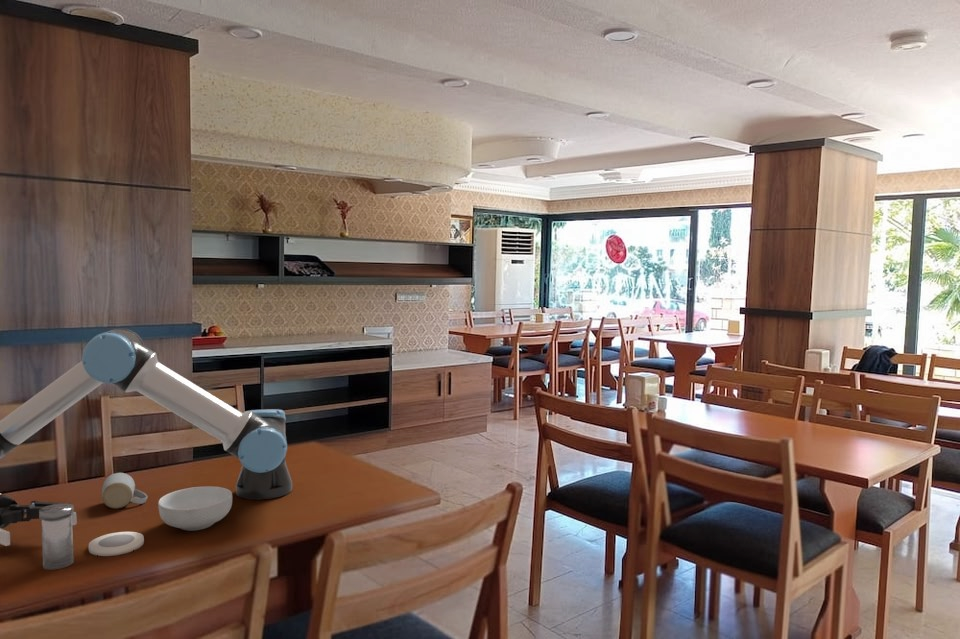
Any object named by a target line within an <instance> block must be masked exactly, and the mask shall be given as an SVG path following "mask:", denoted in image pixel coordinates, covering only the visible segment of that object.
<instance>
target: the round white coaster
mask: <svg viewBox="0 0 960 639" xmlns="http://www.w3.org/2000/svg"><path fill="white" fill-rule="evenodd" d="M144 543H145V538H144V535H143V534H142V533H140V532H137V531H119V532H112V533H106V534H104V535H101V536H99V537H96V538H94V539H92V540H91V541H90V542H89V543H88V552H89V553H90V554H91V555H94V556H97V555H98V556H99V557H112V556H113V557H115V556H120V555H124V554H128V553H130V552H133V550H134V551H136V550H139V549H140V548H141V547H142V546H143V545H144Z"/></svg>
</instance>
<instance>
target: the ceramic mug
mask: <svg viewBox="0 0 960 639" xmlns="http://www.w3.org/2000/svg"><path fill="white" fill-rule="evenodd" d="M101 491H102V492H101V500H102V501H103V503H104V505H105V506H107V507H108V508H111V509H114V510H115V509H121V508H124V507H125V506H127V505H128V504H129V503H133V504H139V505H143V504H145V503H146V502H147V500H148V495H147V493H145V492H144V491H141V490H139V489H136V483H135V480H134V479H133V477H132V476H131V475H129V474H127V473H126V472H125V473H124V472H115V473H112V474H110V475H109V476H107V477H106V478H105V479H104V482H103V484H102V490H101Z"/></svg>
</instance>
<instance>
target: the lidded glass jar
mask: <svg viewBox="0 0 960 639" xmlns="http://www.w3.org/2000/svg"><path fill="white" fill-rule="evenodd" d="M74 507H75V506H74V505H73V504H71V503H70V504H54V505H49V506H46V507H43V508H41V509H40V510H39V518H40V519H39V520H41V545H42V546H41V547H42V549H41V551H42V568H43V569H44V570H48V571H49V570H53V571H55V570H59V569H64V568H67V567H69V566H71V565H72V564H74V540H73V538H74V536H73V525H72V515H73V513H74V512H75V510H74Z"/></svg>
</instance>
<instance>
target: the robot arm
mask: <svg viewBox="0 0 960 639" xmlns="http://www.w3.org/2000/svg"><path fill="white" fill-rule="evenodd" d="M81 356H82V357H81V361H80V362H78V363H77V364H75V365H74V366H73V367H71V368H70V369H68V370H67V371H66V372H65V373H63V374H62V375H61V376H59V377H58V378H56V379H54V381H52V382H51V383H50V384H48V385H47V386H46V387H44V388H43V389H42V390H40V391H39V392H37V393H36V394H35V395H33V396H32V397H31V398H29V399H28V400H27V401H25V402H24V403H22V404H21V405H20V406H19V407H17V408H15V410H12V412H10V413H9V414H7V415H6V416H4V417H3V418H2V419H1V420H0V460H1V459H3V458H4V457H7V455H9V453H10V452H11V451H13V450H14V449H16V448H17V447H19V445H21V444H22V443H23V442H25V441H26V440H27V439H29V438H30V437H31V436H33V435H35V434H36V433H38V431H40V430H41V429H43V427H44V428H45V427H46V425H48V424H49V423H51V422H52V421H54V420H55V419H56V418H57V417H59V416H60V415H61V414H63V413H64V412H65V411H67V410H68V409H70V408H71V407H72V406H73V405H75V404H76V403H78V402H79V401H81V400H82V399H83V398H84V397H86V396H87V395H89V394H90V393H92V392H93V391H94V390H95V389H97V388H98V387H99V386H101V385H102V384H111V385H113V386H114V387H116V388H118V389H120V390H122V391H123V392H125V393H131V392H137V393H139V394H141V395H143V396H145V397H146V398H148V399H150V400H151V401H153V402H155V403H157V404H158V405H159V406H162V407H163V408H165V409H166V410H168V411H170V412H171V413H173V414H175V415H177V416H178V417H180V418H182V419H183V420H185V421H187V422H189V423H191V425H193V426H195V427H197V428H199V429H201V430H202V431H203V432H205V433H207V434H209V435H210V436H212V437H214V438H215V439H217V440H218V441H220V442H222V446H223V450H224V451H225V452H227V453H229V454H231V455H232V456H234V457H235V458H237V459H238V460H239V462H240V463H241V467H240V472H239V475H238V478H237V481H236V483H235V495H236V496H237V497H239V498H240V499H245V500H257V501H258V500H269V499H276V498H280V497H283V496H286V495H288V494H289V493H291V492H292V491H293V481H292V478H291V474H290V470H289V469H288V466H287V463H286V454H287V451H288V441H287V436H286V422H287V417H286V413H285V411H284V410H283V409H279V408H277V409H275V408H274V409H273V408H271V409H269V408H268V409H251V410H246V411H244V412H242V411H240V410H238V409H237V408H235V407H233V406H231V405H230V404H229V403H227V402H225V401H223V400H221V399H220V398H218V397H217V396H215V395H213V394H212V393H210V392H209V391H207V390H205V389H204V388H202V387H201V386H199V385H197V384H196V383H194V382H192V381H191V380H189V379H187V378H186V377H184V376H182V375H181V374H179V373H177V372H176V371H174V370H173V369H171V368H169V367H168V366H166V365H165V364H162V363H161V362H160V361H159V359H158V356H157V352H156V351H154V350H152V349H151V348H149V347H147V346H146V345H145V343H144V341H143V339H142V338H141V336H140V335H139V334H138V333H137V332H135V331H133V330H130V329H128V328H122V327H121V328H120V327H119V328H112V329H109V330H107V331H104V332H101V333H98V334H96V335H95V336H93V337H92V338H91V339H90V341H88V342H87V344H85V346H84V348H83V350H82V355H81ZM54 504H71V503H69V502H56V501H55V502H51V501H49V502H48V501H38V500H32V501H30V504H19V503H18V502H17V501H16V499H15V498H13V497H12V496H8V495H5V494H2V493H0V545H2V546H5V547H7V546H8V547H9V546H11V531H8V530H5V529H4V528H6V527H8V526H9V525H11V524H17V523H18V522H19V523H21V522H30V521H31V520H37V519H38V520H41V519H40V518H39V510H40V509H41V508H43V507H46V506H49V505H54ZM25 516H26V517H25ZM77 524H78V522H77V512H76V511H74V513H73V515H72V527H74V526H76V525H77Z"/></svg>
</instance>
